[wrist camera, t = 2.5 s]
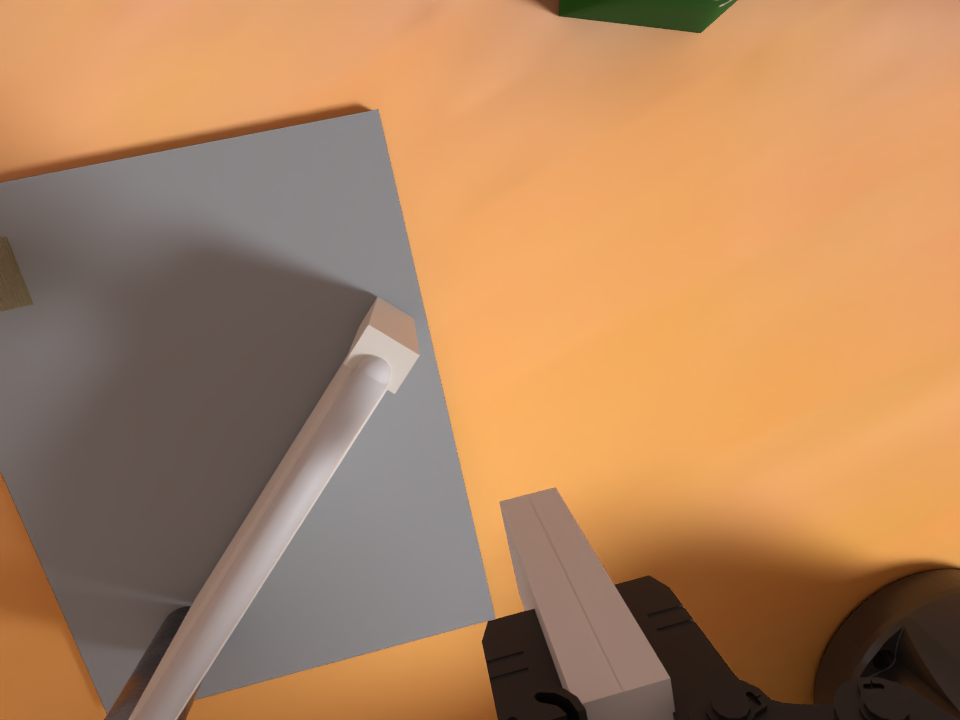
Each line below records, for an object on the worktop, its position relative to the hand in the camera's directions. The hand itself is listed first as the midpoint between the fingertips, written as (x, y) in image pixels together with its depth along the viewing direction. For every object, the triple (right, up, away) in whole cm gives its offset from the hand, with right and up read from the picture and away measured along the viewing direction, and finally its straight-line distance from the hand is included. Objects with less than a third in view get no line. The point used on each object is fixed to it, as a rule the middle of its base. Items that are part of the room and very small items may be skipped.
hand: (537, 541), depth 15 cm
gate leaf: (-10, 0, +14) cm, 17 cm away
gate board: (-14, +1, +14) cm, 20 cm away
